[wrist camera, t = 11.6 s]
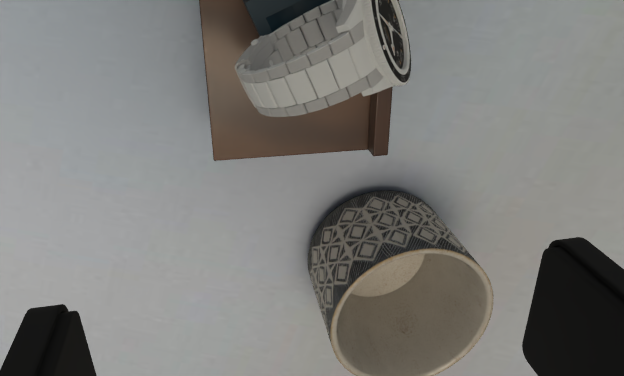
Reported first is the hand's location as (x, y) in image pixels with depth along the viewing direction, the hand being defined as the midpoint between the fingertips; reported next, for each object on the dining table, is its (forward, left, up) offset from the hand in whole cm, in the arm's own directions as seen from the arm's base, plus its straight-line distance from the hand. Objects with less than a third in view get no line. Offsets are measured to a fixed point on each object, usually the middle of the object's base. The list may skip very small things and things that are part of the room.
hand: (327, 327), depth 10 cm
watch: (-2, +3, -23) cm, 23 cm away
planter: (+19, +11, -31) cm, 37 cm away
